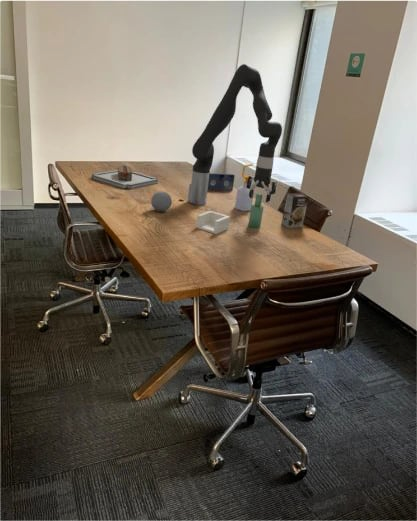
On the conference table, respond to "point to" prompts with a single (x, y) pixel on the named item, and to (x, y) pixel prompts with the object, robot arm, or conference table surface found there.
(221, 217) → the u rest
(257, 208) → the green bottle
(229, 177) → the vhs cassette tape
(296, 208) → the coffee box
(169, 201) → the decorative stone
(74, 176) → the conference table surface
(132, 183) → the grey square tray
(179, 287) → the conference table surface
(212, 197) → the conference table surface
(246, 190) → the soap bottle
